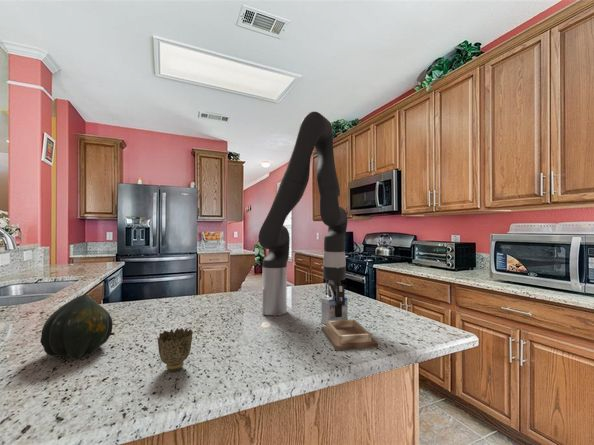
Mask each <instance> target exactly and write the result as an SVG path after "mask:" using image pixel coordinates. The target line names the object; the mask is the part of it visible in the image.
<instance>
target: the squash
mask: <svg viewBox="0 0 594 445" xmlns="http://www.w3.org/2000/svg"><path fill="white" fill-rule="evenodd" d="M113 326H114V325H113V318H112V316H111V314H110V313H109V311H107V310H106V309H105V308H104V307H103V306H102V305H101V304H99V303H98V302H97V301H96V300H95V299H93V297H91V296H90V295H88V294H83V295H79V296H77V297H75V298H73V299H71V300H69V301H68V302H66V303H65V304H63V305H61V306H60V307H59V308H58V309H56V310H55V311H54V312H52V314H51V315H50V316H49V317H48V318H47V320H46V321H45V323H44V325H43V327H42V330H41V337H40V344H41V345H42V347H43V351H44V352H45V353H46V354H47V355H49V356H52V357H53V356H54V357H58V356H61V357H64V356H68V357H69V358H71V359H74V360H75V359H76V360H77V359H79V358H81V357H82V356H84V354H86V355H88V354H92V353H94V352H96V351H97V350H99V348H100V347H101V346H103V345H104V344H105V343H107V341H108V340H109V339H110V336H111V335H112V331H113Z"/></svg>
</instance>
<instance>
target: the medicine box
mask: <svg viewBox="0 0 594 445" xmlns="http://www.w3.org/2000/svg"><path fill="white" fill-rule="evenodd" d="M320 300H321V309H320V310H321V323H322V324H323V325H324V326H327V321H337V320H349V319H348V315H349V314H348V311H349V310H348V303H349V302H348V297H347V296H345V305H342V317H335V303H334V299H332V296H331V297H327V296H325V297H321V299H320ZM339 301H340V299H339Z"/></svg>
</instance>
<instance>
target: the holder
mask: <svg viewBox="0 0 594 445" xmlns="http://www.w3.org/2000/svg"><path fill="white" fill-rule="evenodd" d="M320 329H321V332H322V333H323V334H324V336H325V338H326V339H327V340H328V342H329V343H330V344H331V346H332V347H333V348H334V350H335V351H340V350H341V351H342V350H352V349H354V350H356V349H367V348H368V349H369V348H379V342H378V341H376V340H375V338H373V337H372V334H371V333H370V331H368V330H367V329H366V328H365V327H364V326H362V324H360V323H359V322H358V321H357V320H356V319H348V320H337V321H327V325H322V326H320Z"/></svg>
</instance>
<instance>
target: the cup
mask: <svg viewBox="0 0 594 445" xmlns="http://www.w3.org/2000/svg"><path fill="white" fill-rule="evenodd" d="M193 333H194V332H193V330H192V328H191V329H189V330H188V328H185V329H183V328H178V327H177V328H176V329H175V331H174V330H173V329H172V328H171V329H170V331H167V330H164V331H163V332H160V333H159V334H158V335H159V336H156V337H157V346H158V354H159V359H160V360H161V362H162V363H164V364H165V365H166V366H165V368H166V369H167V370H166V371H169V372H176V371H180V370H181V369H183V368H184V367H183V366H185V362H184V361H186V360H187V358H189V356H190V353H191V348H192V340H193Z"/></svg>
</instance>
